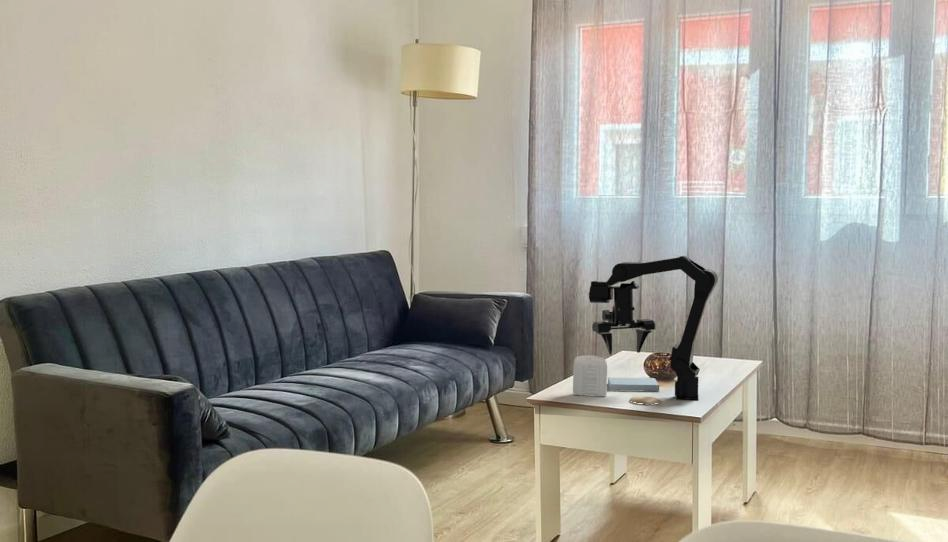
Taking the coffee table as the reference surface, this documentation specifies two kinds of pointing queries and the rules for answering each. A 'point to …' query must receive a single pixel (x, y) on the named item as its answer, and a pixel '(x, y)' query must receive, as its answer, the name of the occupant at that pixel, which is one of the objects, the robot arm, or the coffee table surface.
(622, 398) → the coffee table surface
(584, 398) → the coffee table surface
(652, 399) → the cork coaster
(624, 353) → the coffee table surface
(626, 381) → the pale blue flat block
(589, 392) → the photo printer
